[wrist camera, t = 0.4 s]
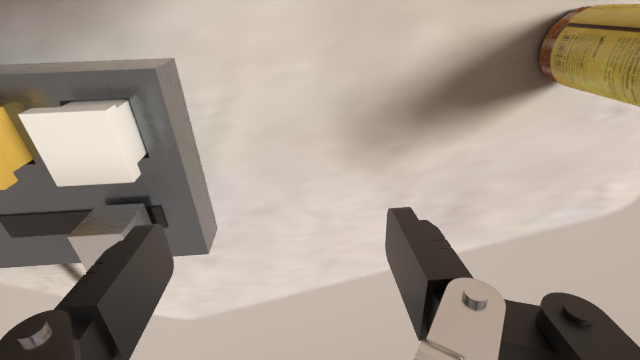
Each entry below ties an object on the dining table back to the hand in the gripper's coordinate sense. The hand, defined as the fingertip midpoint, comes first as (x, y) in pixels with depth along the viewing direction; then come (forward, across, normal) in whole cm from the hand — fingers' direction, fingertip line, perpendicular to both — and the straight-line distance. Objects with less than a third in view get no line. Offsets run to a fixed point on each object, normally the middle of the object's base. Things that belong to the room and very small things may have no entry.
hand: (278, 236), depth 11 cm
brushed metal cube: (+15, +15, +8) cm, 23 cm away
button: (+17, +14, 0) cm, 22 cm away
